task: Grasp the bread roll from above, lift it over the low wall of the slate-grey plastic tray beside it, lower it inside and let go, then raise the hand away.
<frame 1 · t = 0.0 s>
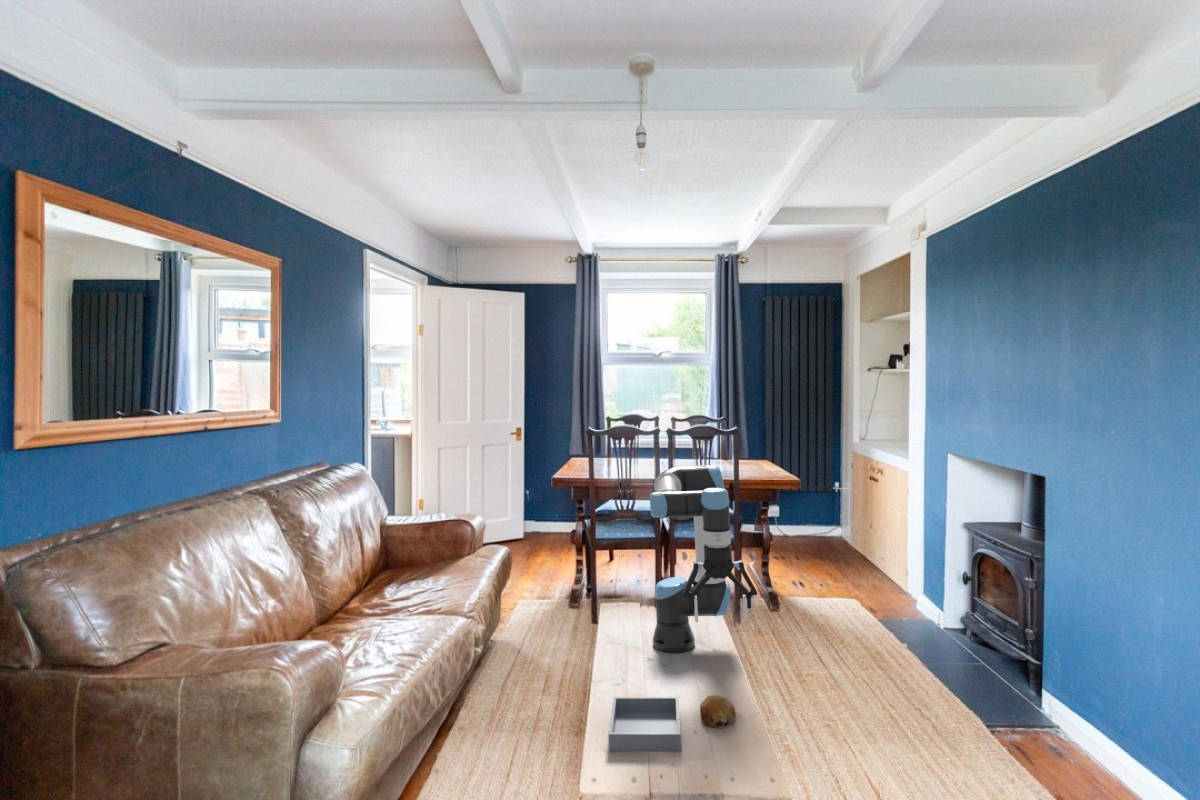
hand: (721, 620, 167), 28 cm above the table, tool pointing down, fingers open, 13 cm apart
bread roll: (717, 720, 168), on the table
grey tray: (645, 730, 164), on the table
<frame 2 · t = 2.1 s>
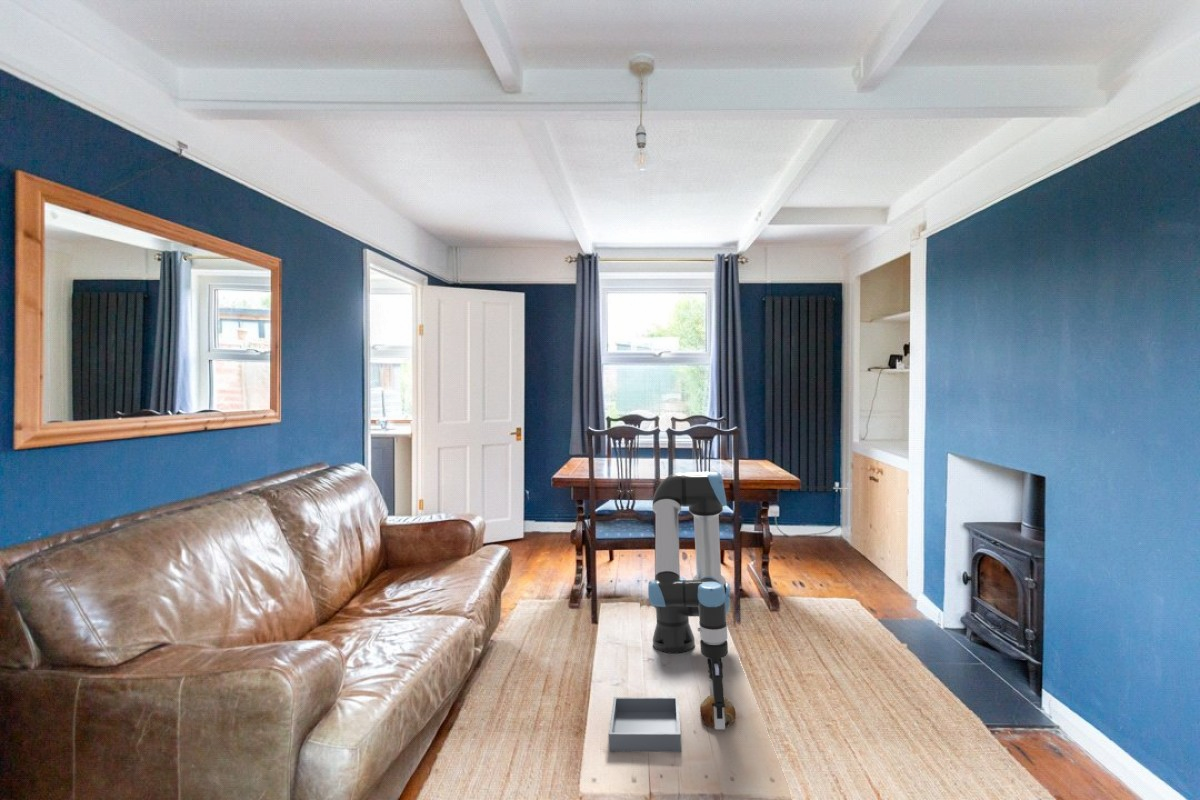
hand: (717, 715, 167), 1 cm above the table, tool pointing down, fingers open, 13 cm apart
nothing on the table moved.
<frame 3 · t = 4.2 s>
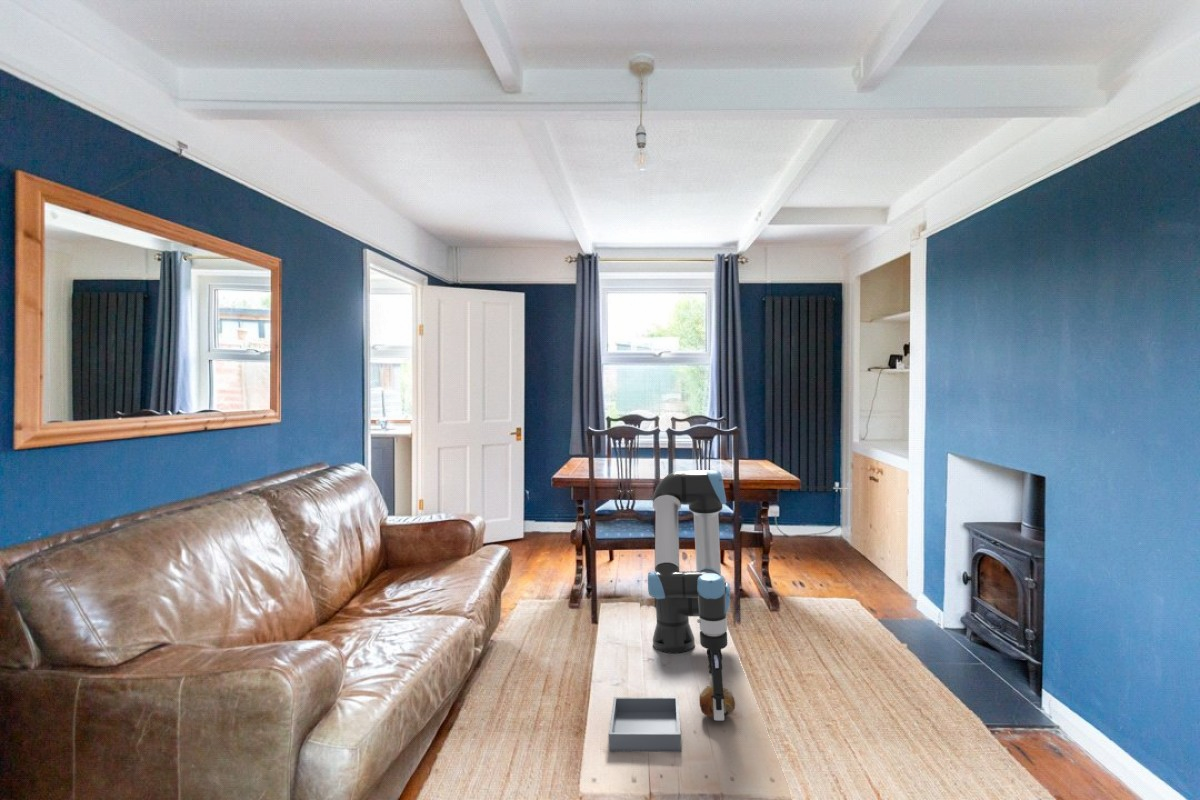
hand: (717, 708, 168), 3 cm above the table, tool pointing down, fingers closed on bread roll, 10 cm apart
bread roll: (717, 710, 168), point 2 cm above the table, touching gripper
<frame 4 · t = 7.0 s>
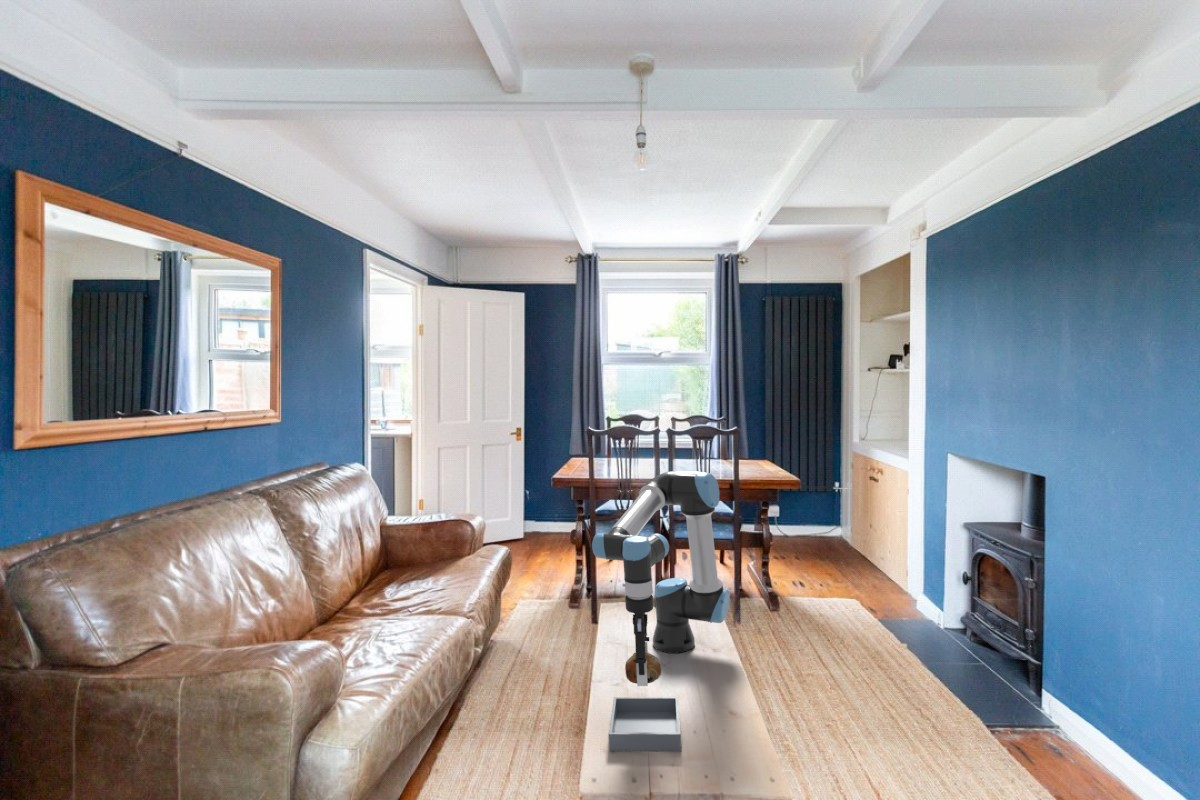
hand: (643, 675, 163), 15 cm above the table, tool pointing down, fingers closed on bread roll, 10 cm apart
bread roll: (643, 677, 163), point 15 cm above the table, touching gripper
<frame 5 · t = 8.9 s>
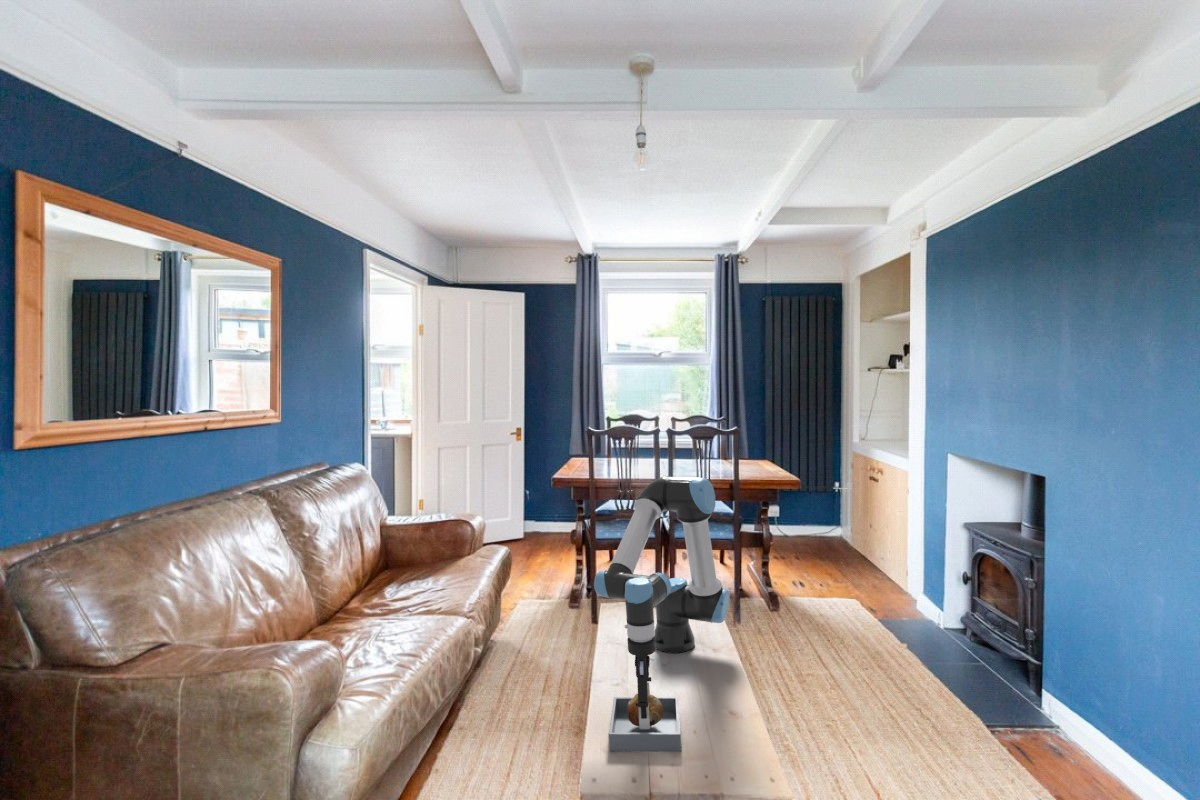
hand: (645, 716, 163), 4 cm above the table, tool pointing down, fingers closed on bread roll, 10 cm apart
bread roll: (645, 718, 163), point 3 cm above the table, touching gripper
when the fingers open (3 cm above the table, at t = 10.2 s): bread roll drops 2 cm, resting on grey tray.
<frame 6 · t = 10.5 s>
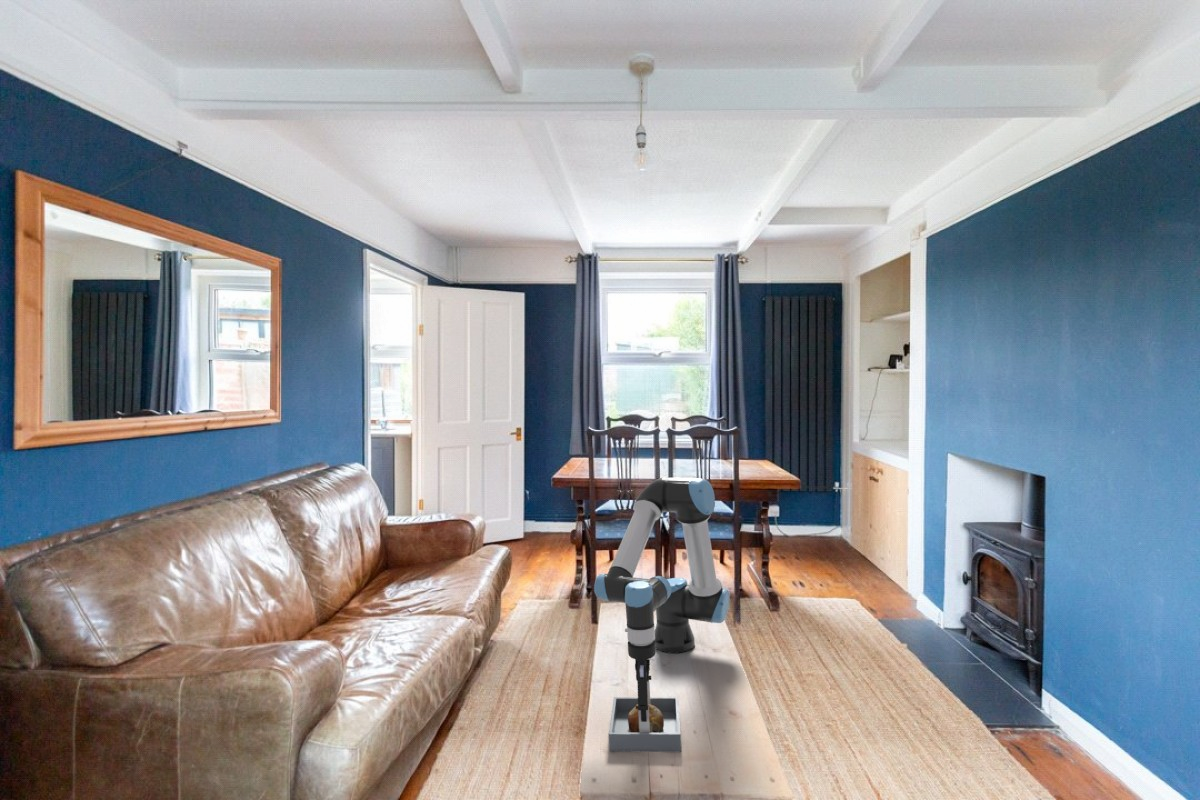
hand: (645, 717, 163), 4 cm above the table, tool pointing down, fingers open, 13 cm apart
bread roll: (645, 729, 164), resting on grey tray
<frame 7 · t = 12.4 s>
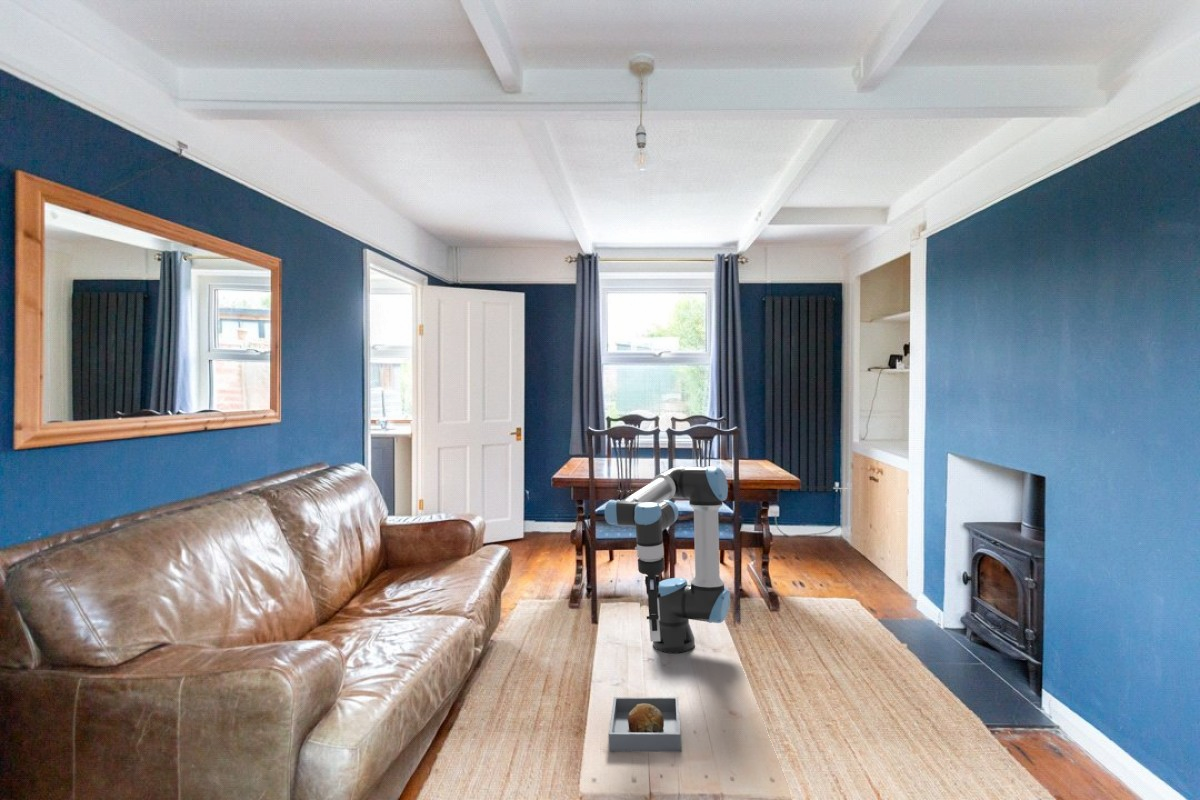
hand: (655, 630, 172), 24 cm above the table, tool pointing down, fingers open, 13 cm apart
nothing on the table moved.
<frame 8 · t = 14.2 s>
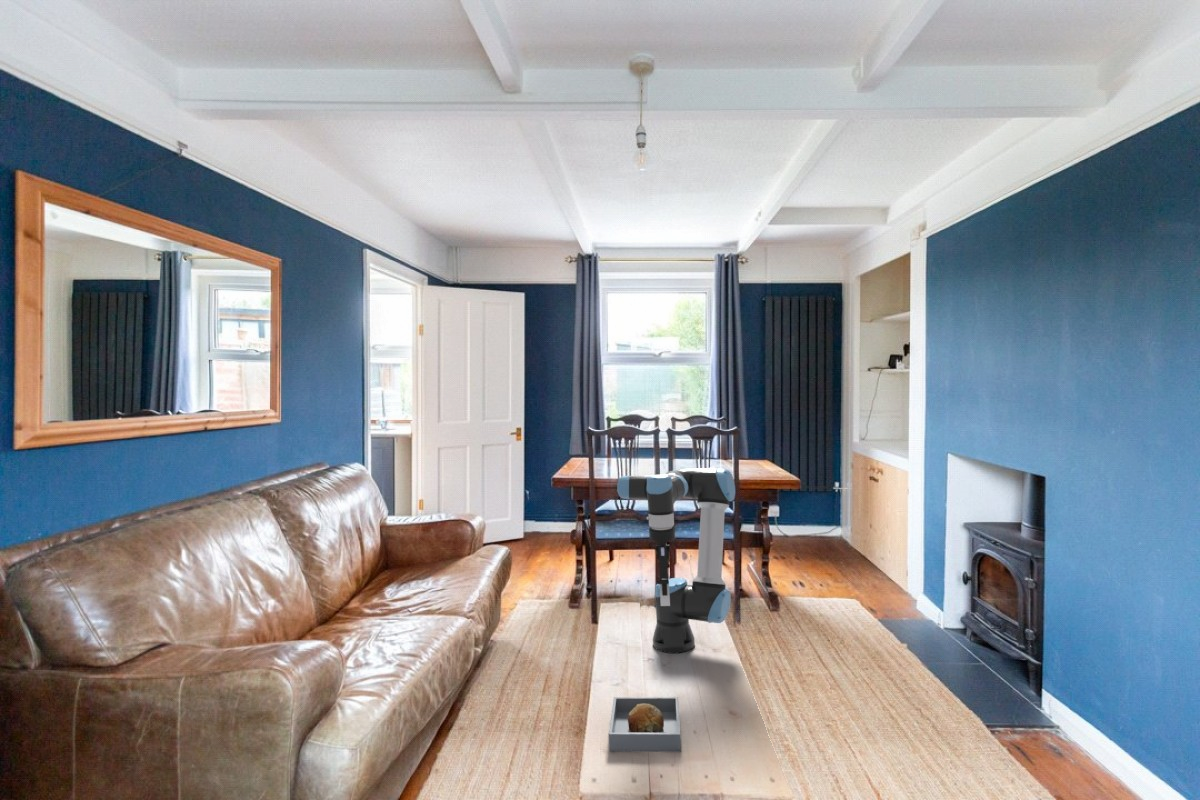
hand: (665, 597, 179), 31 cm above the table, tool pointing down, fingers open, 13 cm apart
nothing on the table moved.
at the end: bread roll inside the target area on the grey tray (0.1 cm from its centre), point 0.4 cm above the grey tray's base; the gripper is holding nothing; bread roll moved 20.9 cm from its start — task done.
